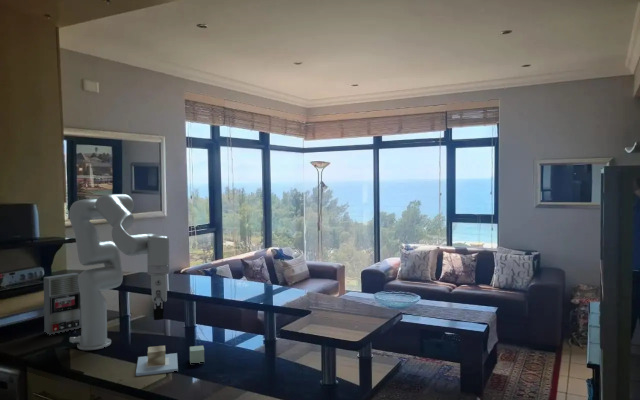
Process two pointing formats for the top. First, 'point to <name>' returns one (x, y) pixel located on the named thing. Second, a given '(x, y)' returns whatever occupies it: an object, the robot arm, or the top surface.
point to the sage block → (196, 354)
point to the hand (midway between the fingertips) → (158, 315)
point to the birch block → (156, 355)
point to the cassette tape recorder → (62, 303)
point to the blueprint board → (169, 366)
